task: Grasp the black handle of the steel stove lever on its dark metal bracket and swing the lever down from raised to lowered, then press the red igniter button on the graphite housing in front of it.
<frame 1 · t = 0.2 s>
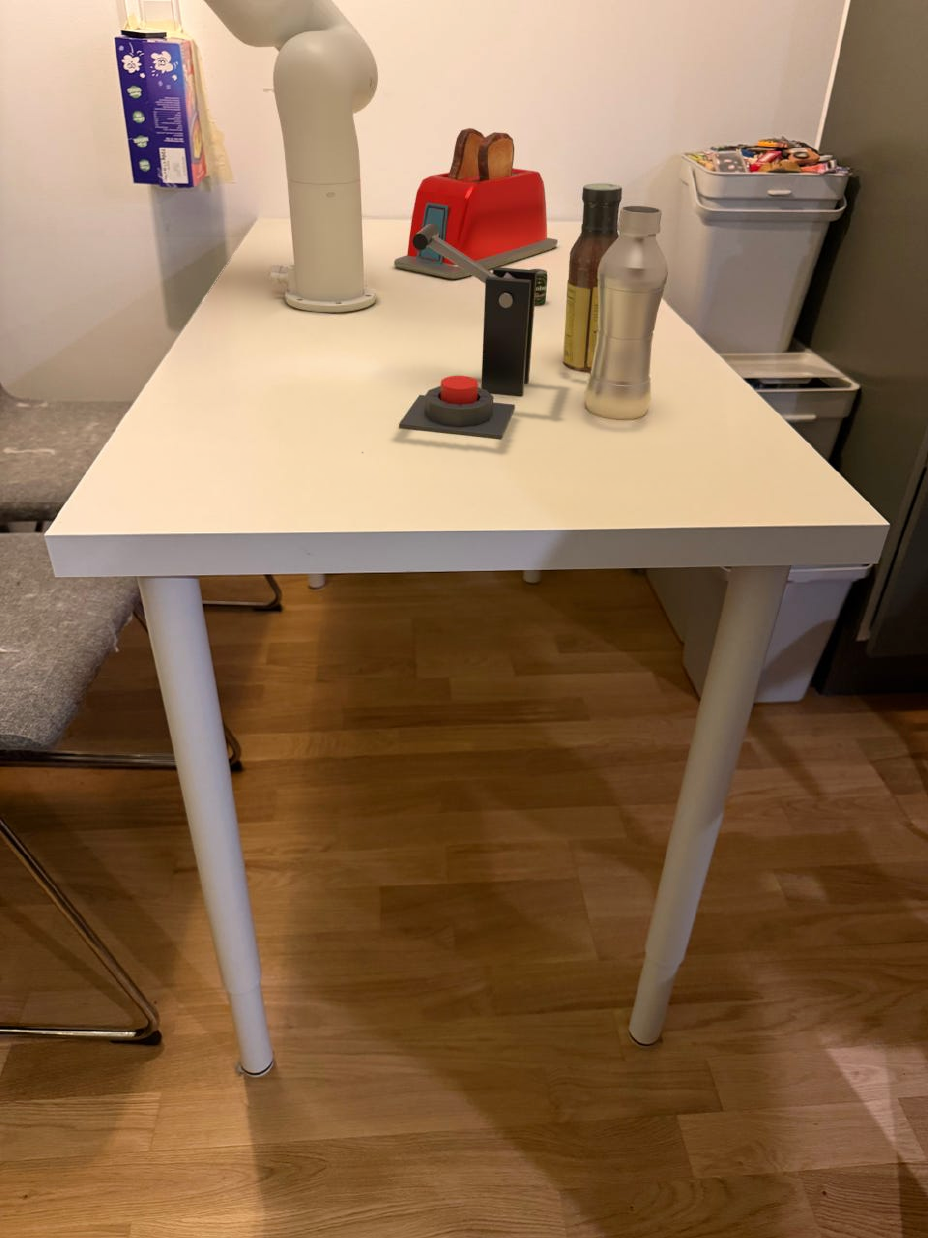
toaster: (480, 258, 148), on the table
lever: (471, 266, 88), point 13 cm above the table, hinge at 28.0°
plastic bottle: (613, 421, 91), on the table
button: (459, 390, 85), point 4 cm above the table, slide at 0.2 cm
sauce bottle: (587, 375, 102), on the table
beer can: (535, 304, 126), on the table
bracket: (504, 397, 95), on the table
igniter: (458, 429, 88), on the table
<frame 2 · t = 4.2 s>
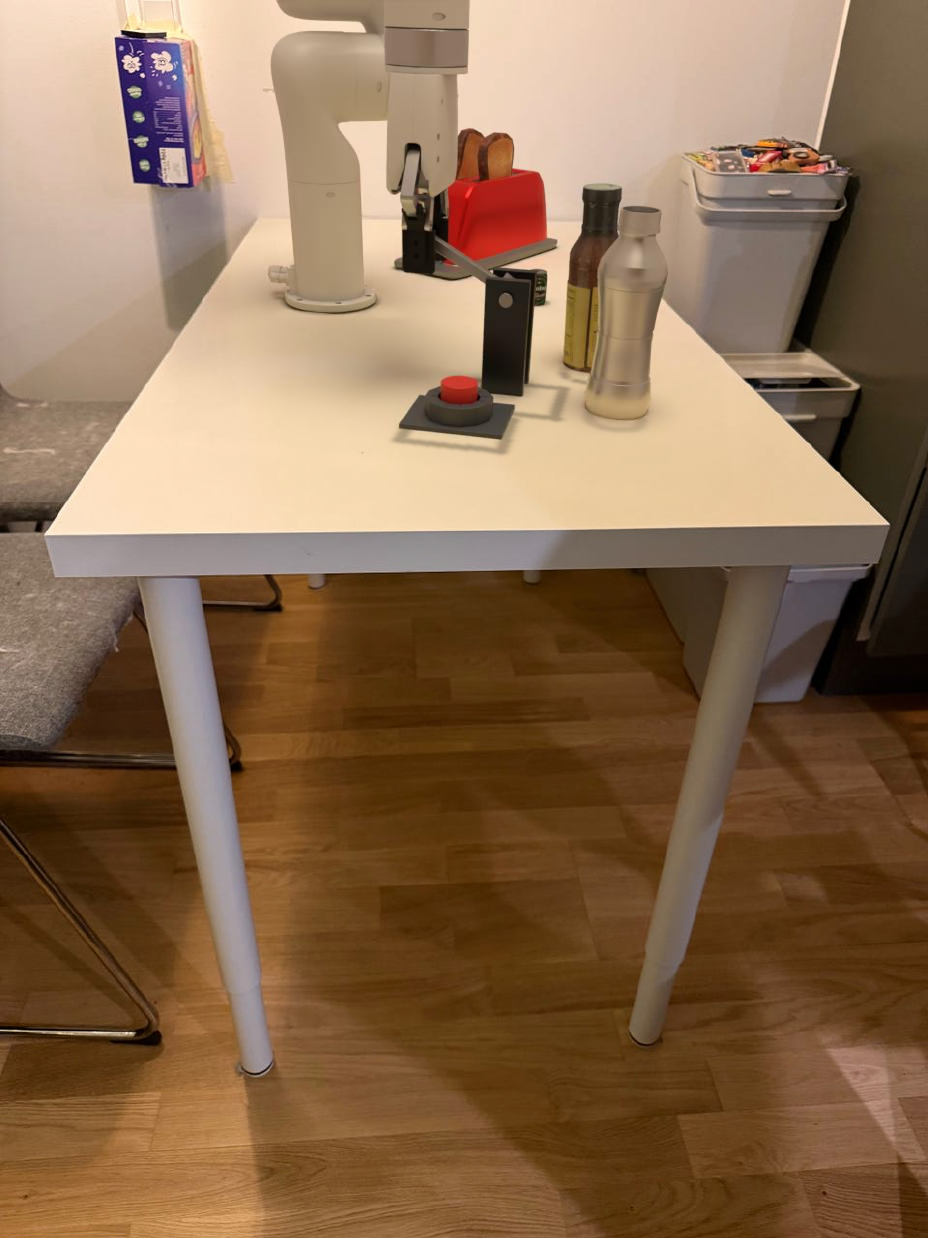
hand: (425, 263, 89), 13 cm above the table, tool pointing down, fingers closed on lever, 5 cm apart
lever: (471, 266, 88), point 13 cm above the table, hinge at 28.0°, touching gripper
everything else where it was.
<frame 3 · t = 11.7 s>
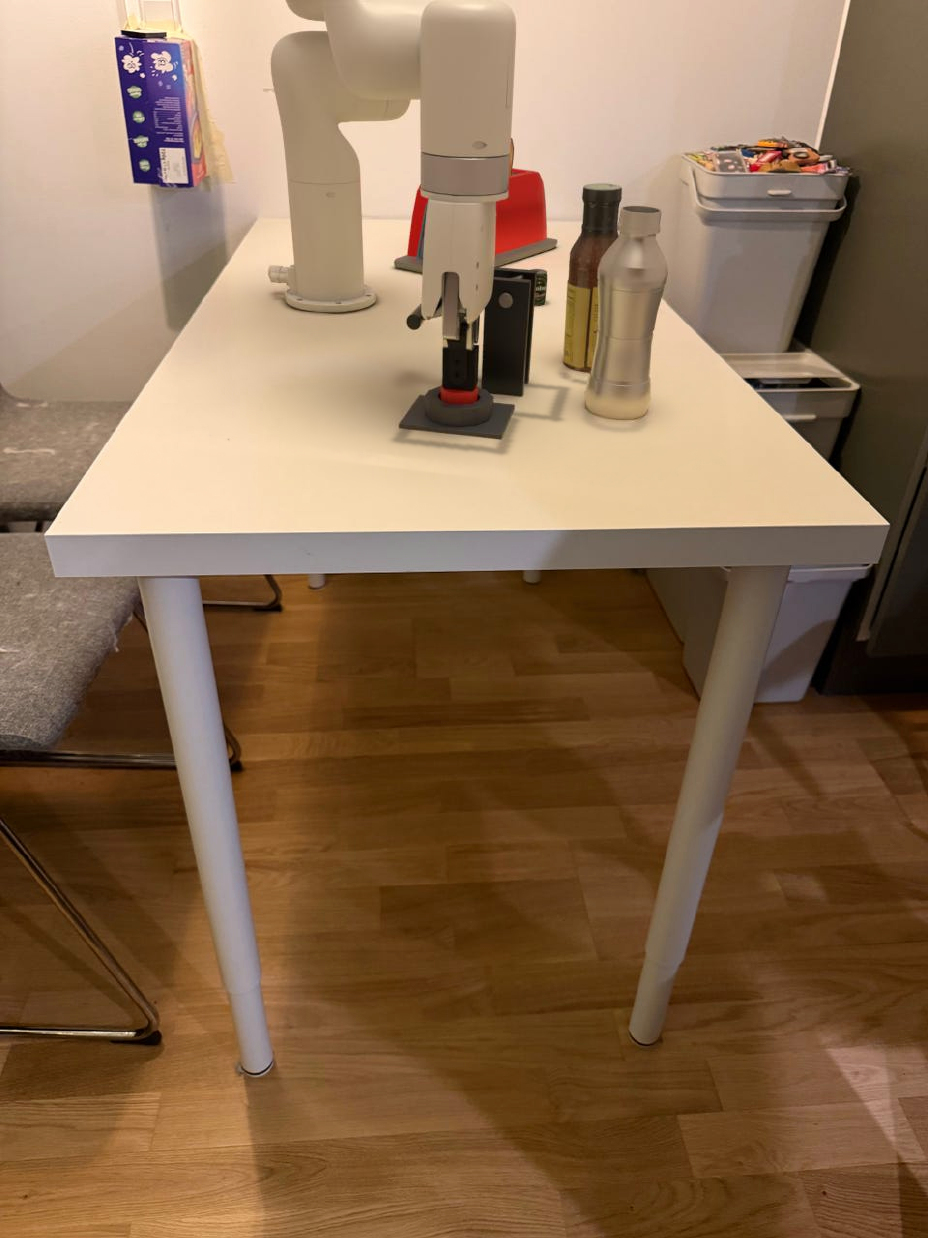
hand: (459, 386, 85), 4 cm above the table, tool pointing down, fingers closed
lever: (467, 303, 90), point 10 cm above the table, hinge at -17.9°
button: (459, 395, 86), point 4 cm above the table, slide at -0.3 cm, touching gripper
everything else where it was.
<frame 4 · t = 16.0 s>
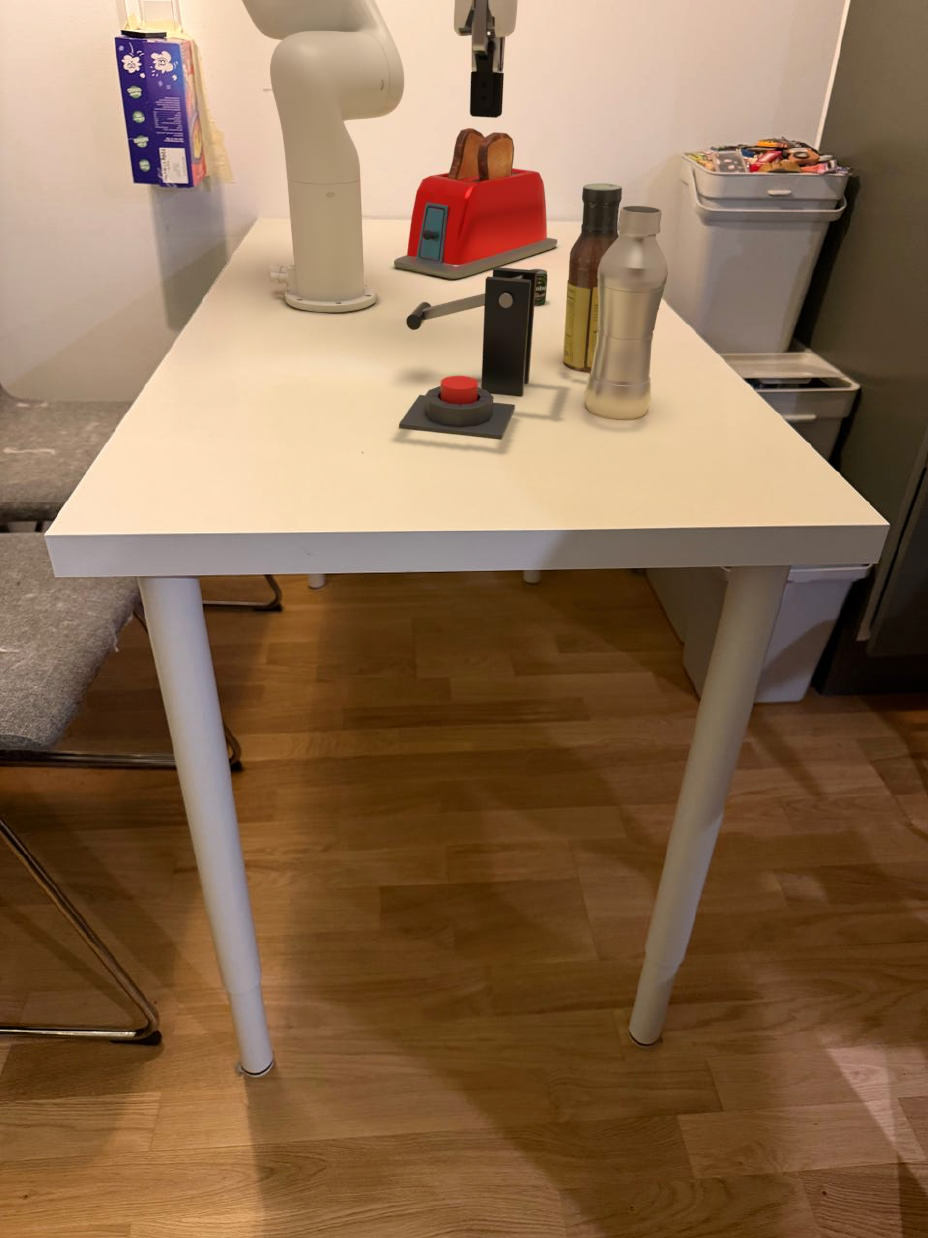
hand: (485, 115, 94), 25 cm above the table, tool pointing down, fingers closed
button: (459, 390, 85), point 4 cm above the table, slide at 0.1 cm
everything else where it was.
at the end: lever at -18° (first picture: +28°); button pushed in 1.1 cm at the most during the clip, back to where it started at the end; button slide at 0.1 cm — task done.
